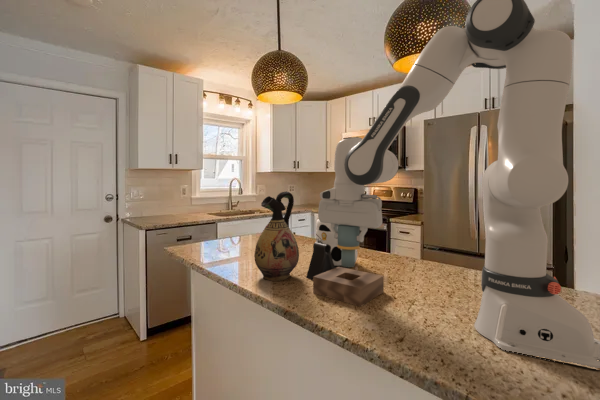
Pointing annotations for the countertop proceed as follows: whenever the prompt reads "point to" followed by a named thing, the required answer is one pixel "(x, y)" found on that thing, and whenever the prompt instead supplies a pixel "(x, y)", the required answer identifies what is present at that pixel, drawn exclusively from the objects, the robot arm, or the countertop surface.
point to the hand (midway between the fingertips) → (348, 240)
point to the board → (348, 285)
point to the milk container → (330, 241)
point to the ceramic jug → (277, 241)
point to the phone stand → (320, 260)
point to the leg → (348, 244)
